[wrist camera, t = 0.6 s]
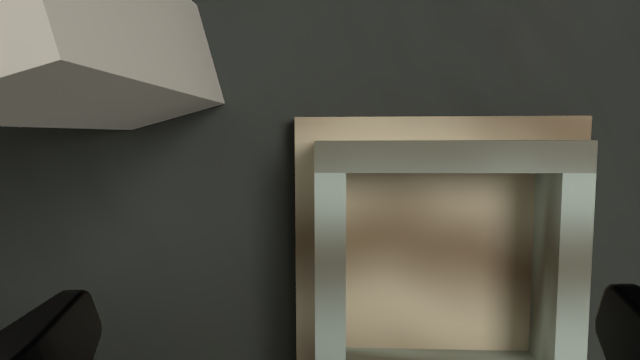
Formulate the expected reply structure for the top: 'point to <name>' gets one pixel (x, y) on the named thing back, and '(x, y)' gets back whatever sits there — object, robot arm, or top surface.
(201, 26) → the fuselage block
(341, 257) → the jig
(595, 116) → the top surface
